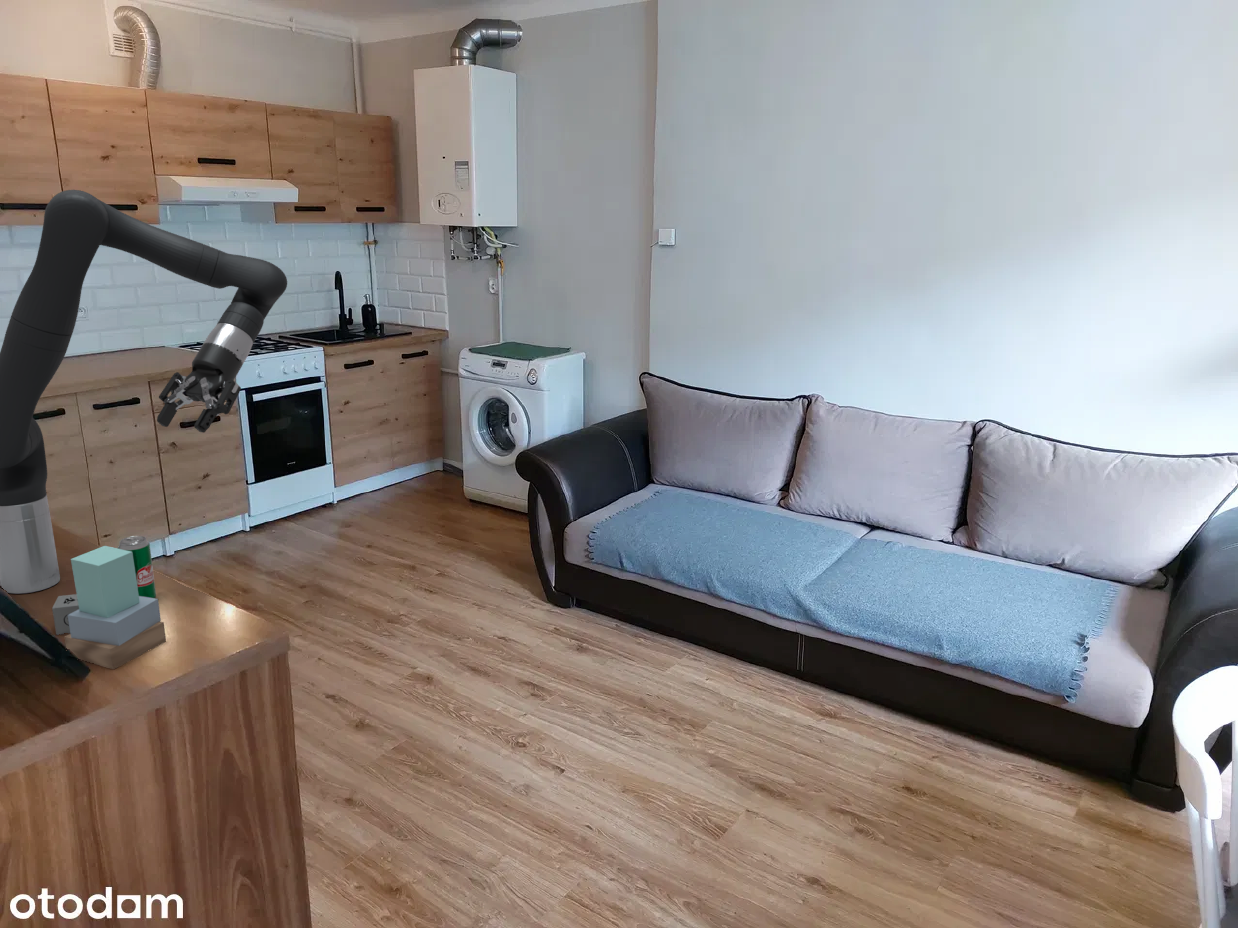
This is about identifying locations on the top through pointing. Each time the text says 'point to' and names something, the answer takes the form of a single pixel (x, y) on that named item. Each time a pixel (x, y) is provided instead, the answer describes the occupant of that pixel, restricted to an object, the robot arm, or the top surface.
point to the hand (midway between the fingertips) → (180, 427)
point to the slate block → (115, 623)
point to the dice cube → (64, 612)
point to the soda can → (141, 564)
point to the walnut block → (117, 647)
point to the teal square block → (105, 581)
